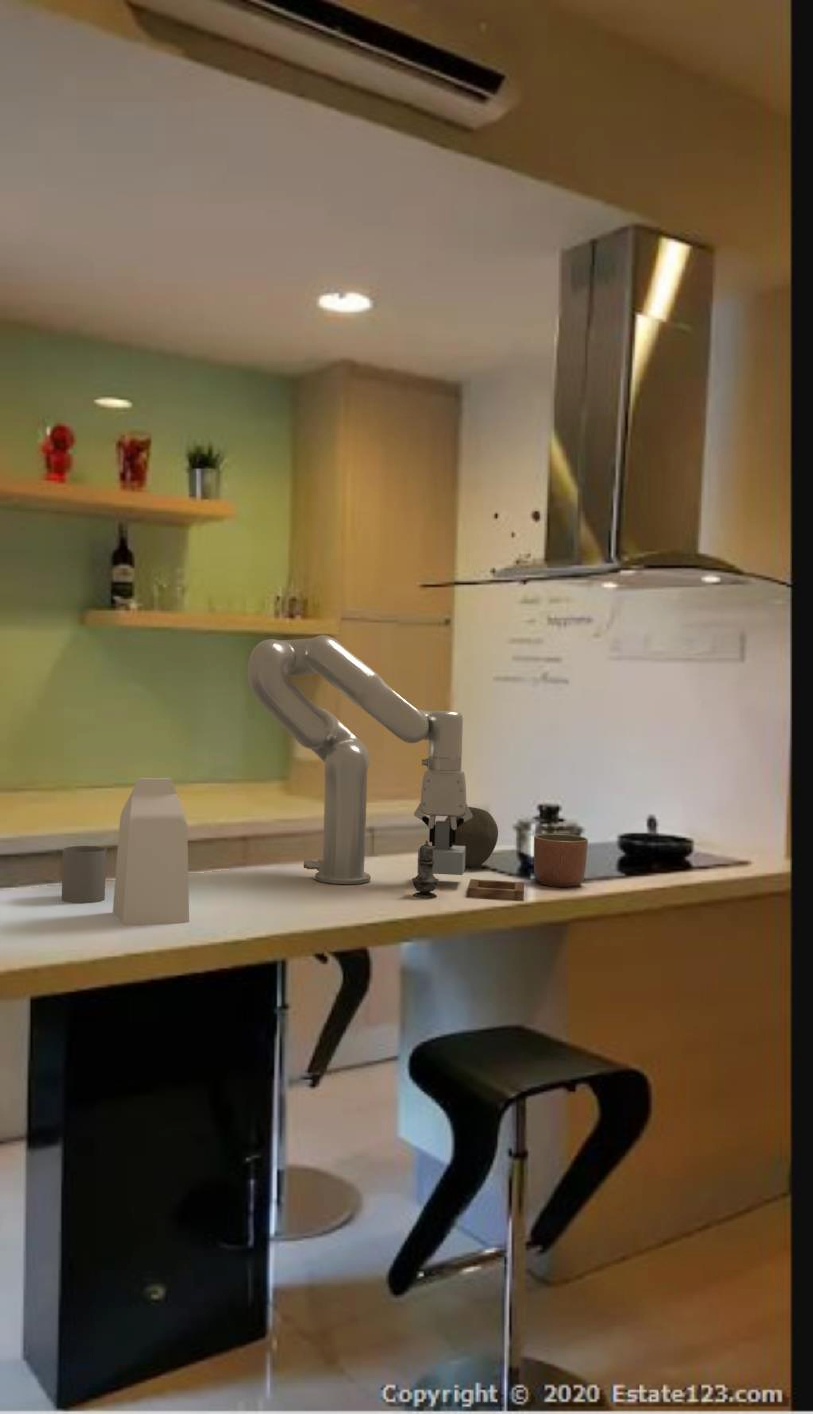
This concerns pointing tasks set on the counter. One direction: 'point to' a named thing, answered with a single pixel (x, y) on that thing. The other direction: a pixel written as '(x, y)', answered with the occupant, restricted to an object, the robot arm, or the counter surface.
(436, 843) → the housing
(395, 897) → the counter surface
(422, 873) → the salt shaker
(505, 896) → the socket board
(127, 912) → the milk
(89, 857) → the cup
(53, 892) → the counter surface
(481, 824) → the dark brown ball
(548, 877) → the planter
